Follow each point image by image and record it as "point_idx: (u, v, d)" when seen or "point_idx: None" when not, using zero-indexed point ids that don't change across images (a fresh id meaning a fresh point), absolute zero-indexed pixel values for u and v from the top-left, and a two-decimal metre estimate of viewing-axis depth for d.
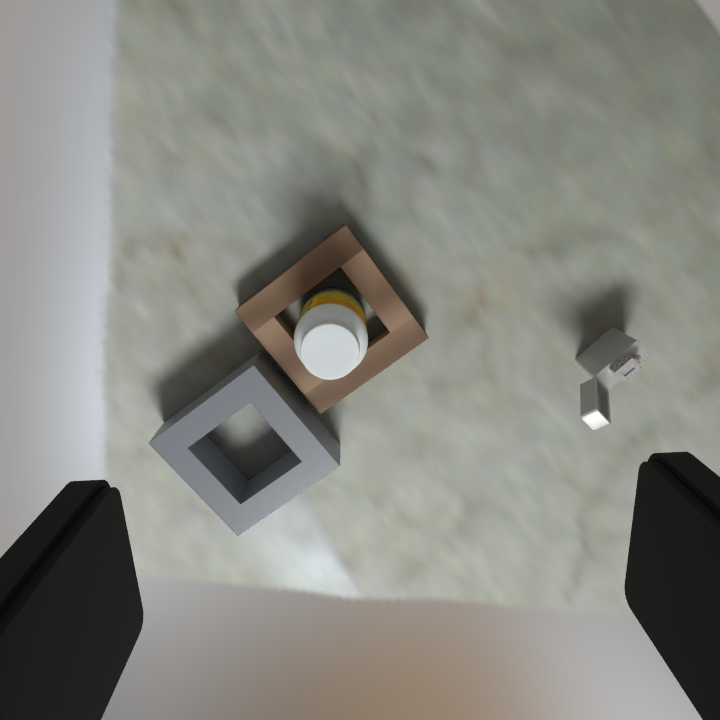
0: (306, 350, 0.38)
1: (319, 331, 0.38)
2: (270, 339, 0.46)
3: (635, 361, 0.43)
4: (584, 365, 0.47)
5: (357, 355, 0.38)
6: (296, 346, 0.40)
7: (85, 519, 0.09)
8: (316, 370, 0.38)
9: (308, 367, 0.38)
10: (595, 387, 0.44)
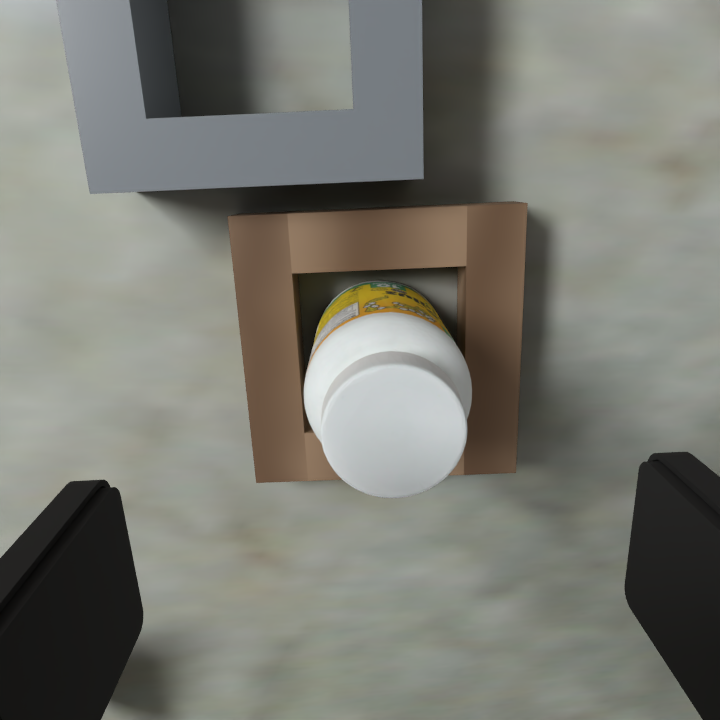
0: (432, 392, 0.15)
1: (452, 444, 0.15)
2: (432, 228, 0.21)
3: None
4: None
5: (348, 480, 0.16)
6: (428, 334, 0.17)
7: (85, 519, 0.09)
8: (374, 382, 0.15)
9: (393, 371, 0.15)
10: None
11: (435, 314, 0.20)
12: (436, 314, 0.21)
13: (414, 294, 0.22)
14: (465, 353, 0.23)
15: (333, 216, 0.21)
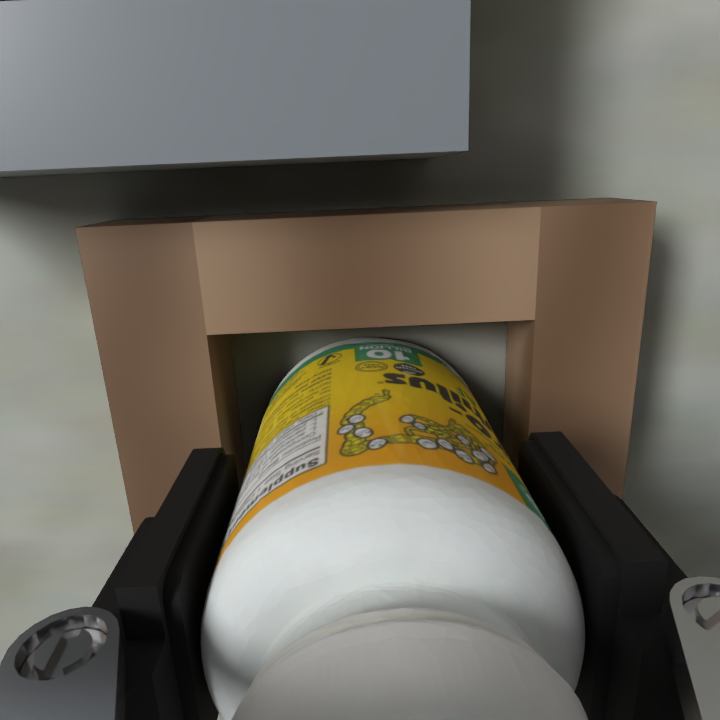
0: None
1: None
2: (472, 251, 0.11)
3: None
4: None
5: None
6: (495, 529, 0.07)
7: (217, 479, 0.10)
8: None
9: None
10: None
11: (482, 421, 0.10)
12: (481, 415, 0.11)
13: (436, 371, 0.12)
14: None
15: (282, 227, 0.11)
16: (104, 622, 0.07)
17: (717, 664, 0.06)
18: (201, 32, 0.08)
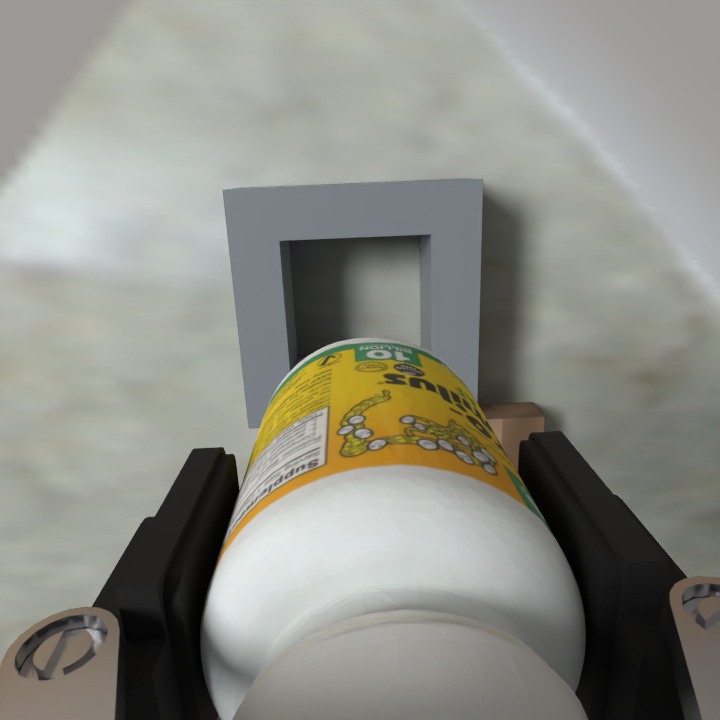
0: None
1: None
2: None
3: None
4: None
5: None
6: (496, 530, 0.07)
7: (217, 479, 0.10)
8: None
9: None
10: None
11: (482, 421, 0.10)
12: (481, 415, 0.11)
13: (437, 372, 0.12)
14: None
15: None
16: (104, 622, 0.07)
17: (717, 664, 0.06)
18: None
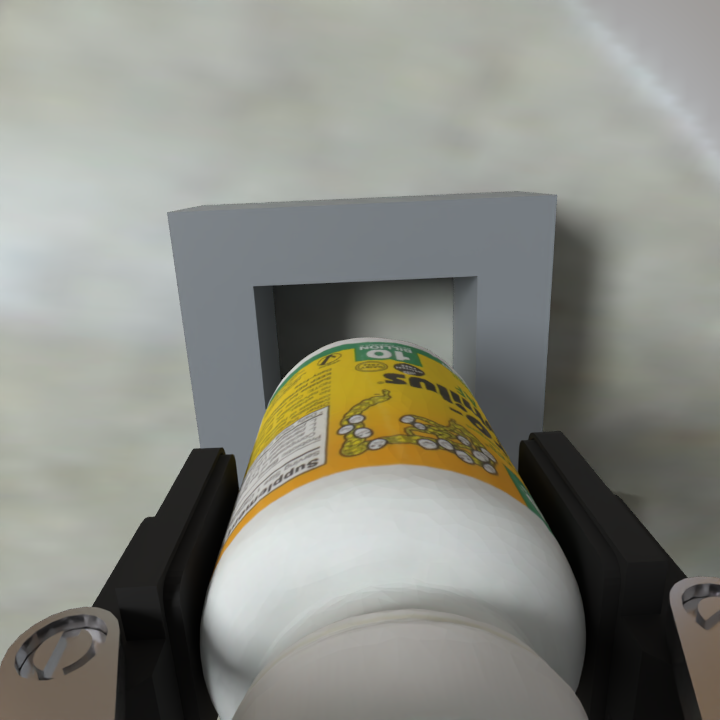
0: None
1: None
2: None
3: None
4: None
5: None
6: (496, 530, 0.07)
7: (217, 480, 0.10)
8: None
9: None
10: None
11: (482, 421, 0.10)
12: (481, 415, 0.11)
13: (437, 371, 0.12)
14: None
15: None
16: (104, 622, 0.07)
17: (717, 664, 0.06)
18: None
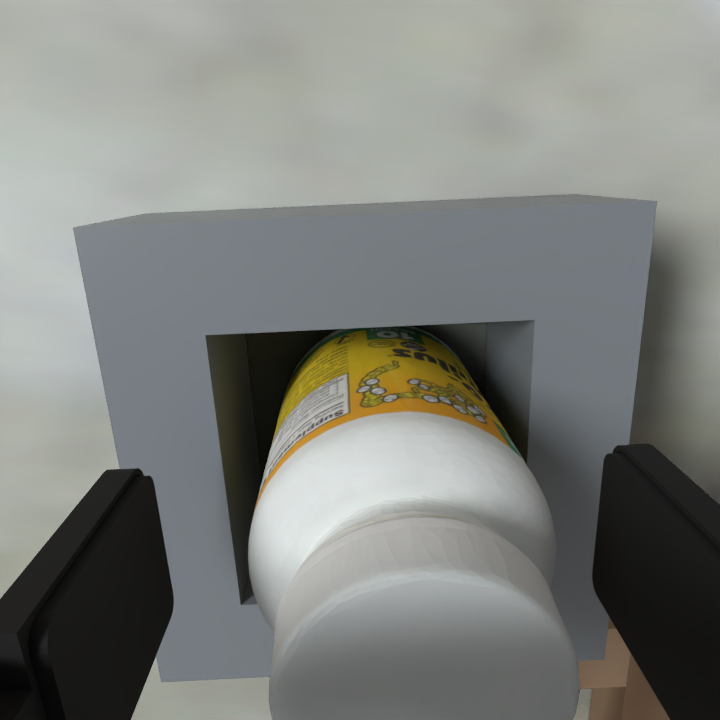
0: (511, 626, 0.07)
1: (547, 718, 0.07)
2: None
3: None
4: None
5: None
6: (484, 460, 0.09)
7: (124, 505, 0.09)
8: (385, 609, 0.07)
9: (427, 586, 0.07)
10: None
11: (475, 389, 0.12)
12: (474, 385, 0.13)
13: (437, 349, 0.14)
14: None
15: None
16: None
17: None
18: None
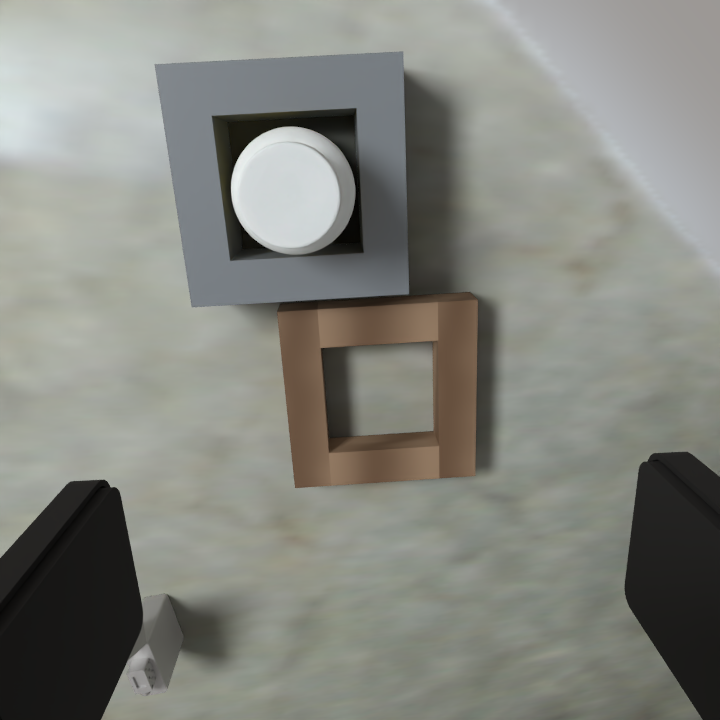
0: (313, 163, 0.21)
1: (330, 204, 0.22)
2: (414, 317, 0.31)
3: (145, 691, 0.35)
4: (158, 614, 0.37)
5: (258, 233, 0.22)
6: (318, 138, 0.23)
7: (85, 519, 0.09)
8: (272, 155, 0.21)
9: (285, 146, 0.21)
10: (137, 652, 0.34)
11: None
12: None
13: None
14: (438, 397, 0.33)
15: (348, 310, 0.31)
16: None
17: None
18: (332, 264, 0.28)
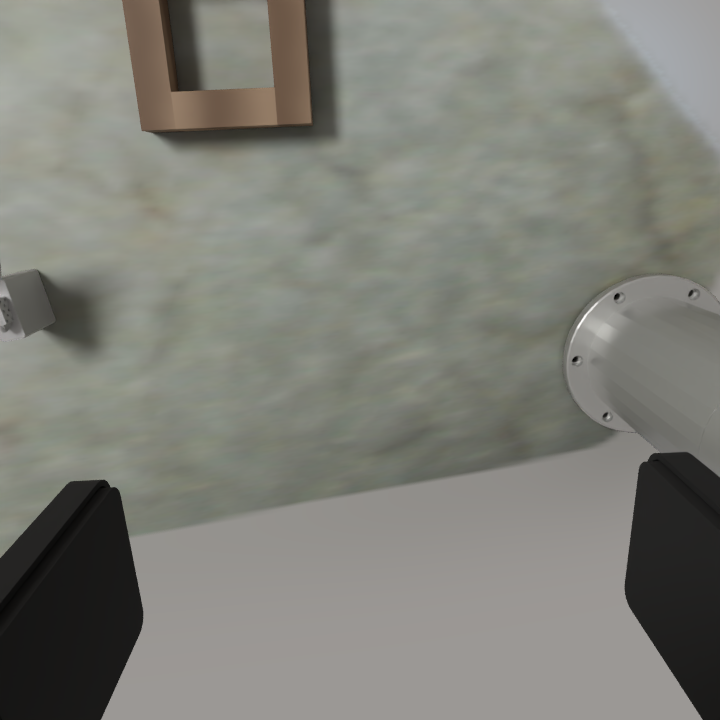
0: None
1: None
2: None
3: (0, 325, 0.38)
4: (23, 274, 0.40)
5: None
6: None
7: (85, 519, 0.09)
8: None
9: None
10: None
11: None
12: None
13: None
14: (270, 31, 0.35)
15: None
16: None
17: None
18: None
